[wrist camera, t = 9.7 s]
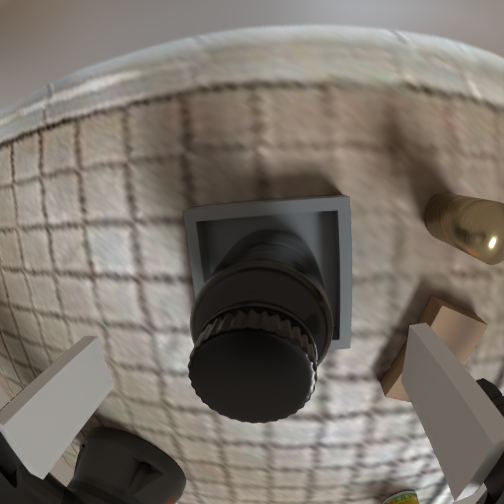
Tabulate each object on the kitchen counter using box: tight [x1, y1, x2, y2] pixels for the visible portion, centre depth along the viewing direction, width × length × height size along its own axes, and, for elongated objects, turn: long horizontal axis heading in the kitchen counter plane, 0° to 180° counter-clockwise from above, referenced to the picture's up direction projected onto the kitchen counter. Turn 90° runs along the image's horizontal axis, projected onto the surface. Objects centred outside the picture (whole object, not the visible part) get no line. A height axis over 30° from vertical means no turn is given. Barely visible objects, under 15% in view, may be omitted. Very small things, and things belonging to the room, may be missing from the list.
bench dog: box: [425, 193, 504, 265], centre depth 16 cm, size 4×4×7 cm
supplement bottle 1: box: [188, 229, 333, 423], centre depth 16 cm, size 7×7×12 cm
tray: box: [183, 194, 352, 350], centre depth 21 cm, size 11×11×2 cm
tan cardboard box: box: [380, 296, 488, 402], centre depth 21 cm, size 6×9×2 cm, turn 160°
